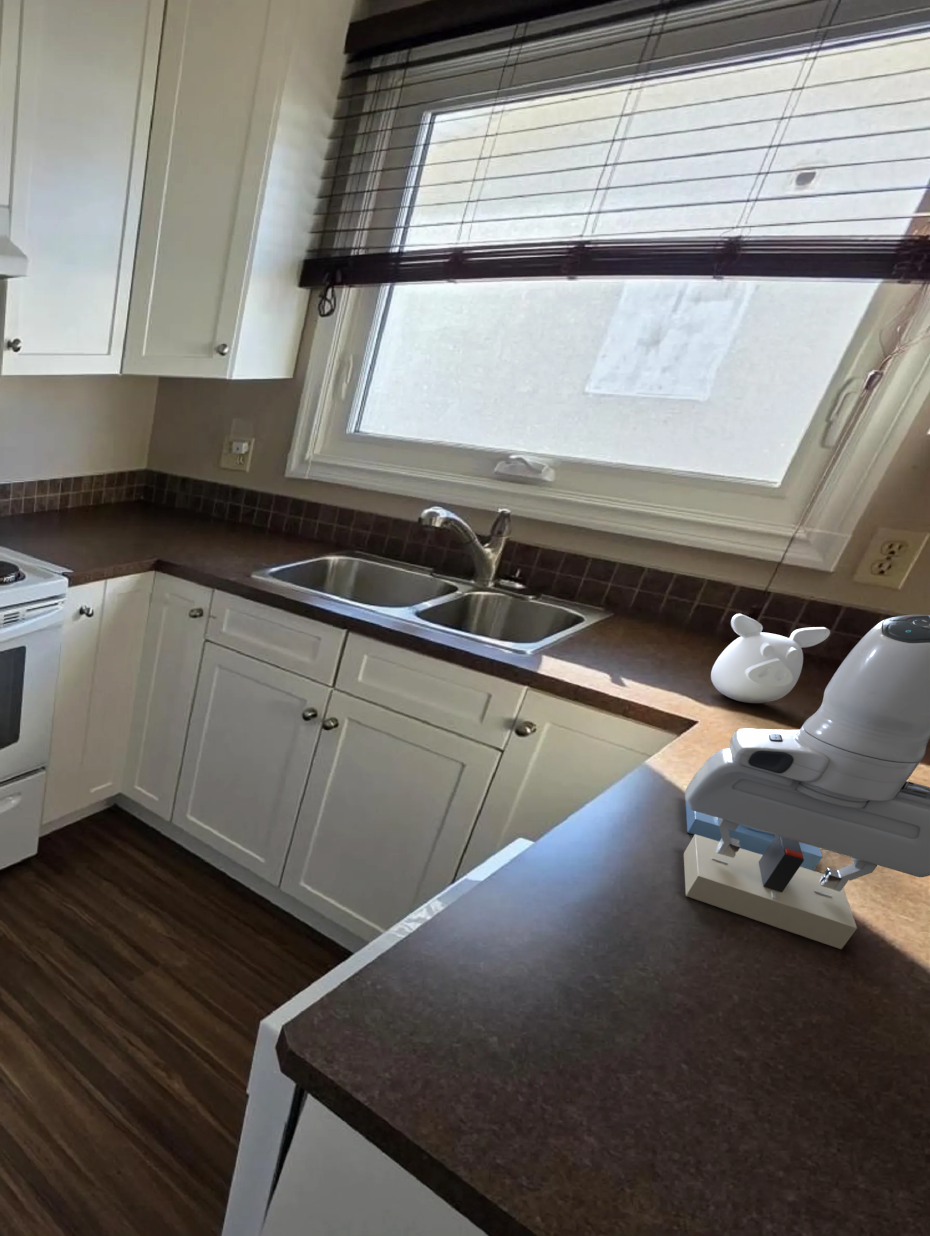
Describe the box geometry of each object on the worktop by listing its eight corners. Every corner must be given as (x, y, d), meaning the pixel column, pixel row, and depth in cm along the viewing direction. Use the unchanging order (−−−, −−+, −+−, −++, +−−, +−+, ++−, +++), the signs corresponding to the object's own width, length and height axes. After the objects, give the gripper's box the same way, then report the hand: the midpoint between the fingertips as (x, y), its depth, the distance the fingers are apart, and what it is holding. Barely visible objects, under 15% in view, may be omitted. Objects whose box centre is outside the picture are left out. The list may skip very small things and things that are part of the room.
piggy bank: (726, 711, 139) (771, 630, 132) (683, 683, 150) (723, 607, 143) (807, 719, 138) (857, 638, 131) (757, 691, 148) (802, 614, 141)
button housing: (802, 835, 105) (819, 810, 103) (812, 871, 98) (831, 845, 96) (685, 801, 112) (699, 777, 110) (687, 832, 105) (702, 807, 103)
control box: (826, 899, 93) (841, 877, 92) (841, 949, 86) (858, 927, 84) (683, 853, 100) (695, 832, 99) (685, 896, 93) (698, 874, 91)
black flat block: (758, 862, 94) (779, 828, 92) (776, 867, 93) (798, 834, 91) (763, 886, 90) (785, 852, 88) (782, 892, 89) (805, 858, 87)
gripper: (982, 789, 81) (900, 896, 88) (718, 724, 92) (663, 823, 99) (1000, 815, 77) (912, 925, 83) (721, 744, 88) (663, 845, 94)
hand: (775, 869), depth 91 cm, fingers open, 7 cm apart
